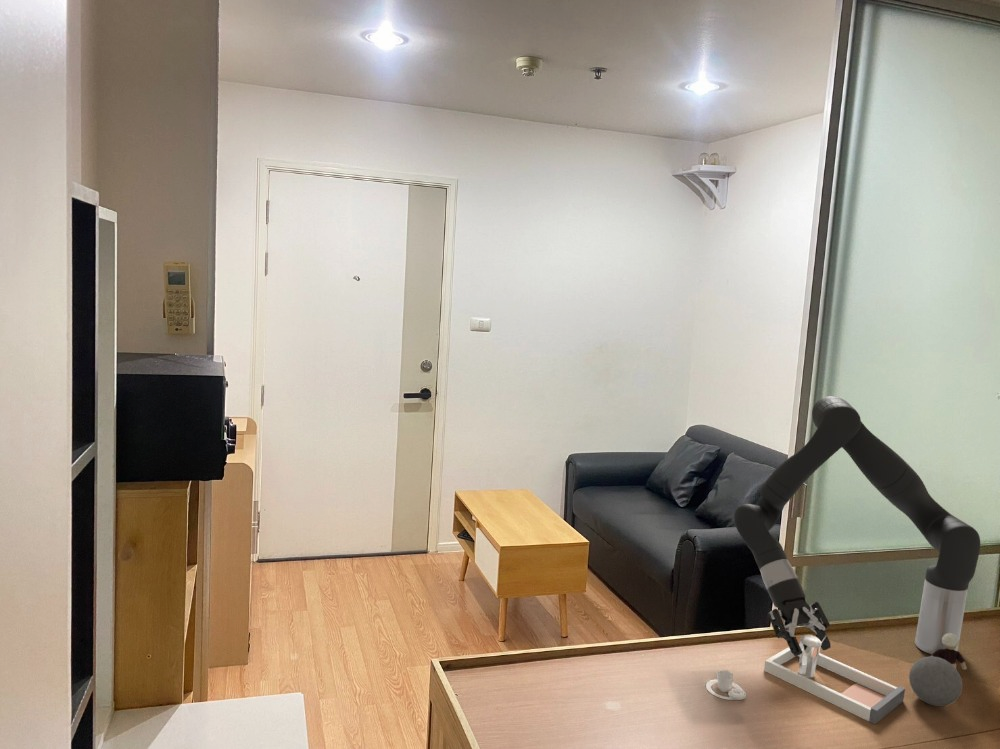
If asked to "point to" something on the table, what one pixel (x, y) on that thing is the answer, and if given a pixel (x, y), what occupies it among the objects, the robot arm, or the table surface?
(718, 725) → the table surface
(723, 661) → the table surface
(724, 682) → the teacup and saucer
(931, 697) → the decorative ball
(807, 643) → the milkshake
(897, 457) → the robot arm
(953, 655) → the grandmother figurine
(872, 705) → the tray
